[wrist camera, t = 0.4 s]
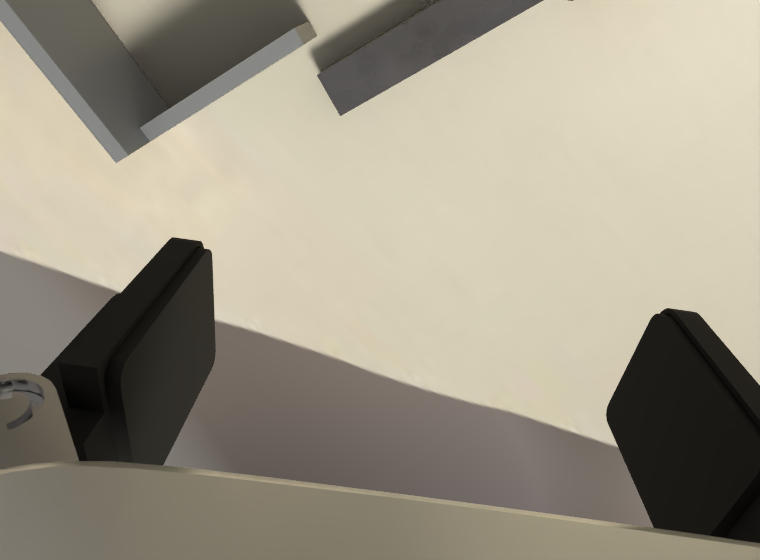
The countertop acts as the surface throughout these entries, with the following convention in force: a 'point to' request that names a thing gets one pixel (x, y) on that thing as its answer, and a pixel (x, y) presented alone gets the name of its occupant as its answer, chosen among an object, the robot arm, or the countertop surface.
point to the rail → (413, 47)
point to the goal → (117, 71)
